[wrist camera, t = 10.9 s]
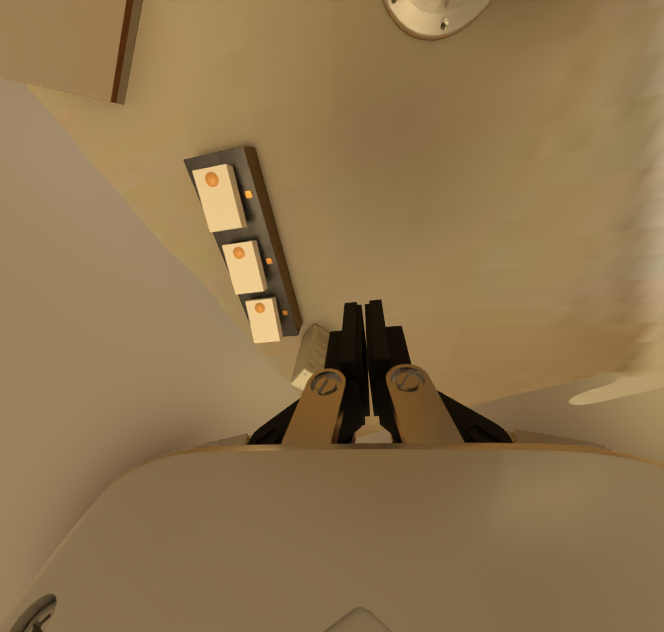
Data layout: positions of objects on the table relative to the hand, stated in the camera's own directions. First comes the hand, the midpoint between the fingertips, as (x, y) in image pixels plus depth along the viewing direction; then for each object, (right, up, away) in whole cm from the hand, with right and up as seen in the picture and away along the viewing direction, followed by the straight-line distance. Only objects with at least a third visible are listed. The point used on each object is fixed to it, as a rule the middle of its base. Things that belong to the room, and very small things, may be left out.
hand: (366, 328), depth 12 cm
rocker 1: (-15, +15, +20) cm, 29 cm away
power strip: (-13, +11, +29) cm, 34 cm away
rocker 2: (-12, 0, +29) cm, 31 cm away
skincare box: (-4, -4, +38) cm, 38 cm away
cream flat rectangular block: (-14, +7, +24) cm, 29 cm away
